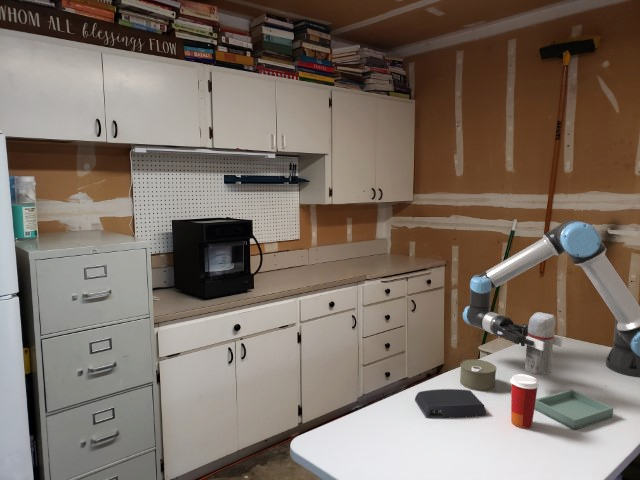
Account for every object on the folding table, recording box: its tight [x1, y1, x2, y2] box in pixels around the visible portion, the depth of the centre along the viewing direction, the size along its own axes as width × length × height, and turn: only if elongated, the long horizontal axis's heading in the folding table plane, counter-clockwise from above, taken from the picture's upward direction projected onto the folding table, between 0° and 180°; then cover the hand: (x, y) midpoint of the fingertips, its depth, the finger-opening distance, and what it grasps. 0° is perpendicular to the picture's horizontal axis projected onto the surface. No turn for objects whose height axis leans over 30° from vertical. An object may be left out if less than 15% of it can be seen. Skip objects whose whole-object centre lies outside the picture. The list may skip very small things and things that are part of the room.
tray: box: [534, 388, 614, 431], centre depth 146 cm, size 18×14×3 cm
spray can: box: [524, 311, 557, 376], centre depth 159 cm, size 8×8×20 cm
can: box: [459, 358, 497, 392], centre depth 166 cm, size 12×12×7 cm
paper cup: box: [509, 373, 540, 430], centre depth 139 cm, size 8×8×14 cm
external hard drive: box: [414, 388, 488, 419], centre depth 149 cm, size 13×19×4 cm
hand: (552, 344), depth 154 cm, fingers closed on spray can, 8 cm apart
